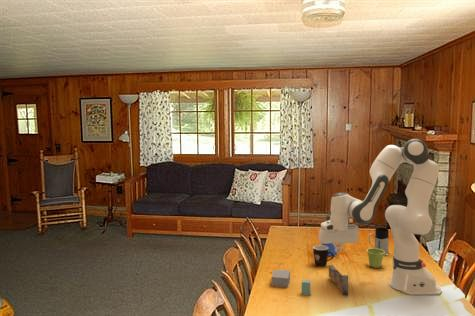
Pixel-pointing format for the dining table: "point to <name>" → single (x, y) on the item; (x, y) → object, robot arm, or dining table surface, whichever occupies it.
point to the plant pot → (375, 257)
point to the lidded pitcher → (381, 239)
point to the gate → (336, 276)
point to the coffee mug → (321, 255)
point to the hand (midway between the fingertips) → (338, 251)
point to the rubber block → (281, 278)
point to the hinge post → (345, 285)
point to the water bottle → (330, 246)
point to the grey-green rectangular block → (306, 287)
